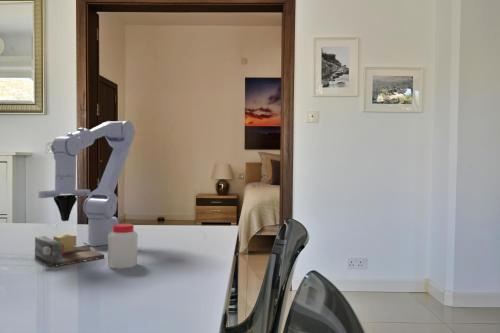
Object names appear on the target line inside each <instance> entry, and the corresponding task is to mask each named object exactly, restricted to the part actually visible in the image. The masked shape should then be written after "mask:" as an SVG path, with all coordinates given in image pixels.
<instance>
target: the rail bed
mask: <svg viewBox="0 0 500 333" xmlns="http://www.w3.org/2000/svg"><path fill="white" fill-rule="evenodd" d="M47 246H52V254H49V255H44V254H43V247H47ZM96 258H101V259H105V254H104V253H101V252H98V251H96V250H94V249H91V245H90V244H85V243H83V244H79V245H77V244H76V246H74V251H68V252H64V254H62V243H61V242H58V241H56V240H54V238H51V237H49V236H45V235H44V236H36V237H34V259H36V260H38V261H40V262H42V263H44V264H45V265H48V266H50V265H51V266H50V267H52V266H54V267H57V266H56V265H60V266H62V265H61V264H66V265H69V264H68V263H72V264H74V263H73V262H78V263H80V262H79V261H83V262H85V261H84V260H89V261H91V260H90V259H95V260H97V259H96Z"/></svg>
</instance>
